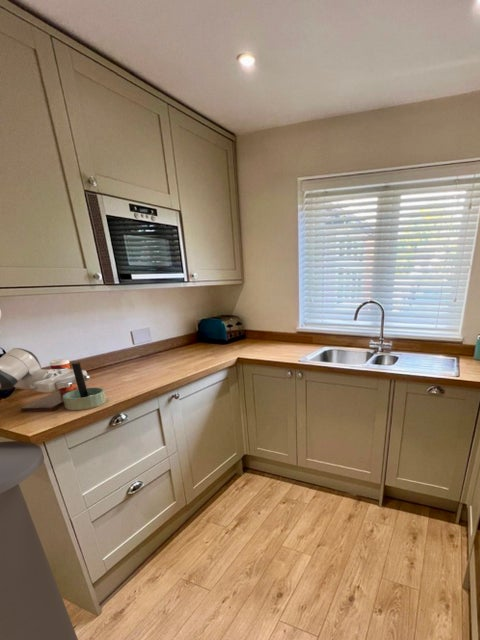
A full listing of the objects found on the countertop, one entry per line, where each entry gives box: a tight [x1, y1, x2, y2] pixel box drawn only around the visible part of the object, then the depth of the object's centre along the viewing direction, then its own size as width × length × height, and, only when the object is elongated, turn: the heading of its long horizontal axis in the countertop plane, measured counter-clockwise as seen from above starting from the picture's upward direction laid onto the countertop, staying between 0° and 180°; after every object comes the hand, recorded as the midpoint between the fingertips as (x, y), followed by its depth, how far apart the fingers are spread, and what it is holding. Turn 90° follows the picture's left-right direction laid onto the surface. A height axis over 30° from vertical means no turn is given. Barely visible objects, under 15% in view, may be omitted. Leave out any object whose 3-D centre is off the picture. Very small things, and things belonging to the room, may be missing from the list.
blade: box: [71, 361, 89, 398], centre depth 133 cm, size 9×9×17 cm
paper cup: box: [48, 358, 75, 392], centre depth 152 cm, size 8×8×14 cm
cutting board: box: [20, 391, 70, 413], centre depth 139 cm, size 20×12×2 cm, turn 2°
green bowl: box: [62, 386, 107, 411], centre depth 136 cm, size 14×14×5 cm
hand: (79, 381), depth 133 cm, fingers open, 8 cm apart
